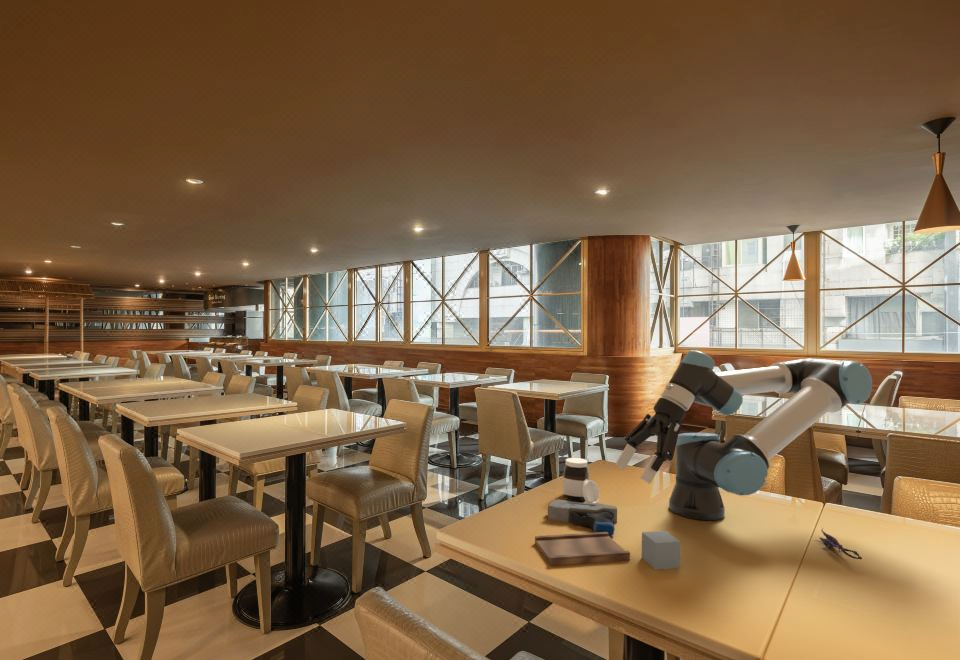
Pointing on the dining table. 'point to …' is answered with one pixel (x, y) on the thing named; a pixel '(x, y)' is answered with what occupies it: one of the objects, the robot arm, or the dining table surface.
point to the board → (580, 548)
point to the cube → (660, 550)
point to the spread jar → (579, 482)
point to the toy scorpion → (837, 545)
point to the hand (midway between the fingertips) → (631, 473)
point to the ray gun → (584, 514)
